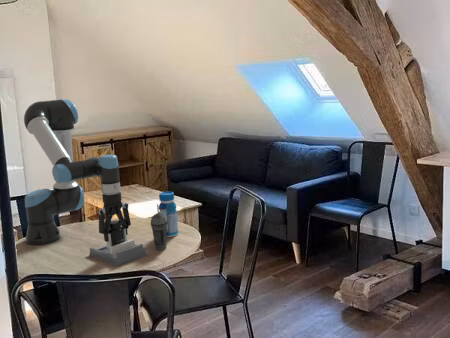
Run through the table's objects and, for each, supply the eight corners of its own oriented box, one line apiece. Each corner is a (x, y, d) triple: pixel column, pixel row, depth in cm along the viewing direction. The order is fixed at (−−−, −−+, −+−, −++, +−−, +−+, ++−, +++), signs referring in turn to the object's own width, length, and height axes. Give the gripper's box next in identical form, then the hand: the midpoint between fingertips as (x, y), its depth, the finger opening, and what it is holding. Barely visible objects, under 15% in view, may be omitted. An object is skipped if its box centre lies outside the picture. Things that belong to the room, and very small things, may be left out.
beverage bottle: (177, 237, 223) (174, 195, 219) (159, 238, 223) (155, 195, 219) (179, 231, 231) (176, 190, 227) (162, 232, 232) (158, 191, 228)
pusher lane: (89, 255, 207) (88, 243, 206) (119, 244, 217) (118, 234, 216) (116, 266, 193) (115, 254, 192) (146, 254, 203) (145, 243, 202)
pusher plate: (110, 258, 198) (109, 247, 197) (133, 250, 206) (132, 239, 205) (112, 258, 197) (111, 247, 197) (135, 250, 205) (134, 239, 205)
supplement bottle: (121, 252, 200) (118, 224, 198) (106, 252, 202) (103, 224, 199) (128, 246, 207) (125, 219, 205) (113, 246, 208) (110, 219, 206)
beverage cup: (168, 244, 214) (165, 200, 210) (170, 250, 207) (166, 204, 203) (152, 246, 213) (148, 202, 209) (153, 252, 206) (149, 206, 202)
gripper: (95, 199, 190) (101, 254, 195) (136, 188, 204) (141, 240, 208) (85, 196, 195) (91, 250, 200) (126, 186, 209) (131, 237, 214)
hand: (117, 245), depth 204 cm, fingers closed on supplement bottle, 7 cm apart
